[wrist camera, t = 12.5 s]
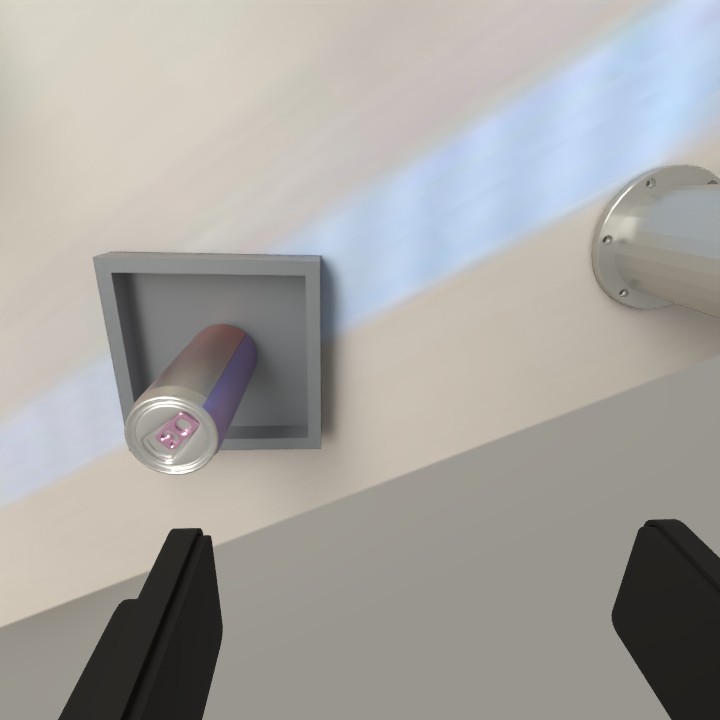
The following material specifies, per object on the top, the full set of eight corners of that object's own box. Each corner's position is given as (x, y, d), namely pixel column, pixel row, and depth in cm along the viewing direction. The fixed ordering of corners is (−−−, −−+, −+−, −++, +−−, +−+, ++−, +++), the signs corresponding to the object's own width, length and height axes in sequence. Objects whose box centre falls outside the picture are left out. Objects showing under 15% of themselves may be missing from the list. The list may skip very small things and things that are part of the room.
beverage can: (272, 353, 41) (240, 437, 27) (229, 393, 43) (178, 493, 29) (222, 308, 40) (162, 374, 26) (180, 351, 41) (100, 437, 27)
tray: (320, 255, 39) (319, 261, 36) (321, 431, 46) (320, 448, 43) (111, 251, 38) (92, 257, 35) (142, 433, 45) (129, 450, 42)
